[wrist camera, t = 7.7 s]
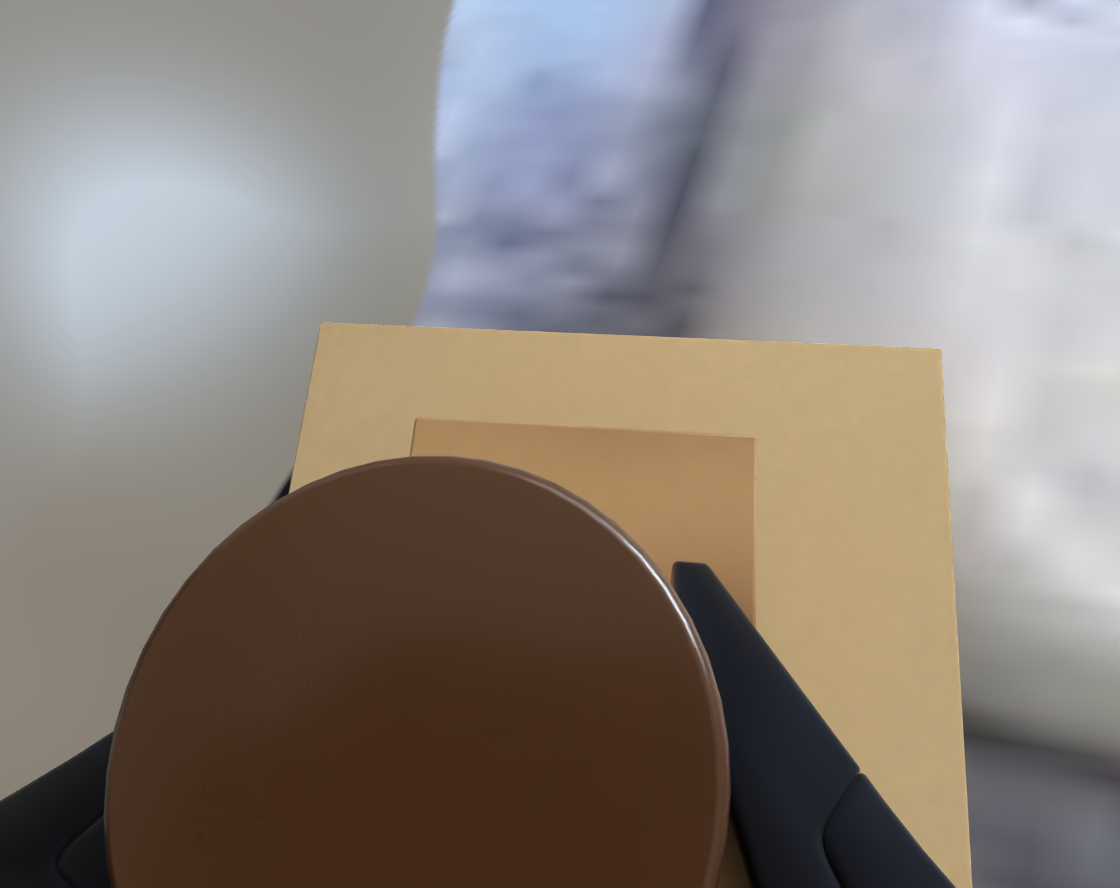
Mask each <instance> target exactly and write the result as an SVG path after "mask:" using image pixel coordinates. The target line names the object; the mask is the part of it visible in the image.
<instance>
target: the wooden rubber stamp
mask: <svg viewBox="0 0 1120 888" xmlns="http://www.w3.org/2000/svg"><path fill="white" fill-rule="evenodd" d="M757 476H758V439H757V437H756V436H754V435H737V434H719V433H701V432H683V431H664V430H646V429H628V428H610V427H592V426H573V425H555V424H537V423H519V422H501V421H482V420H464V419H446V418H428V417H417V418H416V419H415V422H414V429H413V436H412V442H411V449H410V456H408V457H401V458H393V459H386V460H378V461H374V462H371V463H367V464H363V465H359V466H355V467H352V468H348V469H344V470H341V471H339V472H336V473H334V474H331V475H328V476H326V477H323V478H321V479H318V480H316V481H313V482H311V483H308V484H306V485H304V486H302V487H301V488H299V489H297V490H295V491H293V492H291V493H290V494H288V495H286V496H284V497H282V498H280V499H279V500H277V501H275V502H273V503H272V504H270V505H269V506H267V507H266V508H265V509H263V510H262V511H260V512H259V513H258V514H256V515H255V516H253V517H252V518H251V519H249V520H248V521H246V522H245V523H243V524H242V525H241V526H240V527H239V528H237V529H236V530H235V531H234V532H233V533H232V534H231V535H230V536H228V537H227V538H226V539H225V540H224V541H223V542H222V543H221V544H220V545H219V546H217V547H216V548H215V549H214V550H213V551H212V552H211V553H210V554H209V555H208V556H207V558H206V559H205V560H204V561H203V562H202V563H201V564H200V565H199V567H198V568H197V569H196V570H195V571H194V572H193V573H192V574H191V576H190V577H189V578H188V579H187V580H186V581H185V583H184V584H183V585H182V587H181V588H180V590H179V591H178V593H177V594H176V595H175V597H174V598H173V599H172V601H171V602H170V604H169V605H168V607H167V608H166V609H165V611H164V612H163V614H162V615H161V617H160V619H159V621H158V623H157V624H156V626H155V628H154V630H153V632H152V633H151V635H150V637H149V639H148V641H147V643H146V644H145V646H144V648H143V650H142V652H141V655H140V657H139V659H138V662H137V664H136V666H135V669H134V671H133V674H132V676H131V678H130V681H129V683H128V685H127V688H126V691H125V694H124V698H123V701H122V704H121V708H120V711H119V714H118V718H117V721H116V725H115V728H114V733H113V738H112V744H111V749H110V755H109V761H108V766H107V772H106V787H105V802H104V832H105V852H106V863H107V869H108V875H109V881H110V887H111V888H717V886H718V881H719V876H720V871H721V866H722V861H723V857H724V852H725V847H726V842H727V835H728V822H729V810H730V798H731V780H730V757H729V742H728V736H727V730H726V724H725V718H724V712H723V706H722V700H721V697H720V694H719V690H718V687H717V683H716V680H715V677H714V673H713V670H712V667H711V663H710V660H709V657H708V655H707V652H706V650H705V648H704V646H703V643H702V641H701V639H700V636H699V634H698V632H697V630H696V627H695V625H694V623H693V620H692V618H691V617H690V615H689V613H688V612H687V610H686V608H685V607H684V605H683V603H682V602H681V600H680V598H679V597H678V595H677V593H676V592H675V590H674V588H673V587H672V585H671V583H670V581H671V571H672V566H673V564H674V562H676V561H685V562H699V563H706V564H707V565H709V566H710V568H711V569H712V570H713V572H714V573H715V574H716V576H717V577H718V578H719V580H720V581H721V582H722V584H723V585H724V586H725V588H726V589H727V590H728V592H729V593H730V594H731V596H732V597H733V598H734V600H735V601H736V602H737V604H738V605H739V606H740V608H741V609H742V610H743V612H744V613H745V614H746V616H747V617H748V619H749V620H750V621H751V623H752V624H753V625H754V627H755V628H756V572H757Z"/></svg>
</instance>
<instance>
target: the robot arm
mask: <svg viewBox="0 0 1120 888" xmlns="http://www.w3.org/2000/svg"><path fill="white" fill-rule="evenodd" d="M670 583H671V585H672V587H673V588H674V590H675V592H676V593H677V595H678V597H679V598H680V600H681V602H682V603H683V605H684V607H685V608H686V610H687V612H688V613H689V615H690V617H691V618H692V620H693V623H694V625H695V627H696V630H697V632H698V634H699V636H700V639H701V641H702V643H703V646H704V648H705V650H706V652H707V655H708V657H709V660H710V663H711V667H712V670H713V673H714V677H715V680H716V683H717V687H718V690H719V694H720V697H721V700H722V706H723V712H724V718H725V724H726V730H727V736H728V742H729V757H730V780H731V798H730V810H729V822H728V835H727V842H726V847H725V852H724V857H723V861H722V866H721V871H720V876H719V881H718V886H717V888H956V887H955V886H954V884H953V883H952V882H951V881H950V880H949V879H948V878H947V876H946V875H945V874H944V873H943V872H942V871H941V870H940V868H939V867H938V866H937V865H936V864H935V863H934V861H933V860H932V859H931V858H930V857H929V856H928V855H927V853H926V852H925V851H924V850H923V849H922V847H921V846H920V845H919V844H918V842H917V841H916V840H915V839H914V837H913V836H912V835H911V833H910V832H909V831H908V830H907V828H906V827H905V826H904V825H903V823H902V822H901V821H900V820H899V818H898V817H897V816H896V814H895V813H894V812H893V811H892V809H891V808H890V807H889V806H888V804H887V803H886V802H885V800H884V799H883V798H882V796H881V795H880V794H879V792H878V791H877V790H876V788H875V787H874V786H873V784H872V783H871V782H870V780H869V779H868V777H867V776H866V775H865V774H863V773H860V768H859V766H858V765H857V763H856V762H855V761H854V759H853V758H852V756H851V755H850V754H849V752H848V751H847V750H846V748H845V747H844V746H843V744H842V743H841V742H840V740H839V739H838V738H837V736H836V735H835V734H834V732H833V731H832V730H831V728H830V727H829V726H828V724H827V723H826V722H825V720H824V719H823V718H822V716H821V715H820V714H819V712H818V711H817V710H816V708H815V707H814V706H813V704H812V703H811V702H810V700H809V699H808V698H807V696H806V695H805V694H804V692H803V691H802V690H801V688H800V687H799V685H798V684H797V683H796V681H795V680H794V679H793V677H792V676H791V675H790V673H789V672H788V671H787V669H786V668H785V667H784V665H783V664H782V663H781V661H780V660H779V659H778V657H777V656H776V655H775V653H774V652H773V651H772V649H771V648H770V647H769V645H768V644H767V643H766V641H765V640H764V639H763V637H762V636H761V635H760V633H759V632H758V631H757V629H756V628H755V627H754V625H753V624H752V623H751V621H750V620H749V619H748V617H747V616H746V614H745V613H744V612H743V610H742V609H741V608H740V606H739V605H738V604H737V602H736V601H735V600H734V598H733V597H732V596H731V594H730V593H729V592H728V590H727V589H726V588H725V586H724V585H723V584H722V582H721V581H720V580H719V578H718V577H717V576H716V574H715V573H714V572H713V570H712V569H711V568H710V566H709V565H707V564H706V563H699V562H685V561H676V562H674V564H673V566H672V571H671V581H670ZM113 733H114V731H113V732H112V733H110V734H108V735H107V736H105V737H104V738H102V739H101V740H99V741H98V742H96V743H95V744H93V745H92V746H90V747H88V748H87V749H85V750H84V751H82V752H81V753H79V754H78V755H76V756H74V757H73V758H71V759H70V760H68V761H66V762H65V763H63V764H61V765H60V766H58V767H56V768H54V769H53V770H51V771H49V772H48V773H46V774H45V775H43V776H41V777H40V778H38V779H36V780H35V781H33V782H31V783H30V784H28V785H26V786H25V787H23V788H21V789H20V790H18V791H16V792H15V793H13V794H11V795H9V796H8V797H6V798H4V799H3V800H1V801H0V888H111V887H110V881H109V875H108V869H107V863H106V852H105V832H104V802H105V787H106V772H107V766H108V761H109V755H110V749H111V744H112V738H113Z"/></svg>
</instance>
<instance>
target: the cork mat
mask: <svg viewBox="0 0 1120 888" xmlns="http://www.w3.org/2000/svg"><path fill="white" fill-rule="evenodd" d="M417 417H428V418H446V419H464V420H482V421H501V422H519V423H537V424H555V425H573V426H592V427H610V428H628V429H646V430H664V431H683V432H701V433H719V434H737V435H754V436H756V437H757V439H758V476H757V572H756V629H757V631H758V632H759V633H760V635H761V636H762V637H763V639H764V640H765V641H766V643H767V644H768V645H769V647H770V648H771V649H772V651H773V652H774V653H775V655H776V656H777V657H778V659H779V660H780V661H781V663H782V664H783V665H784V667H785V668H786V669H787V671H788V672H789V673H790V675H791V676H792V677H793V679H794V680H795V681H796V683H797V684H798V685H799V687H800V688H801V690H802V691H803V692H804V694H805V695H806V696H807V698H808V699H809V700H810V702H811V703H812V704H813V706H814V707H815V708H816V710H817V711H818V712H819V714H820V715H821V716H822V718H823V719H824V720H825V722H826V723H827V724H828V726H829V727H830V728H831V730H832V731H833V732H834V734H835V735H836V736H837V738H838V739H839V740H840V742H841V743H842V744H843V746H844V747H845V748H846V750H847V751H848V752H849V754H850V755H851V756H852V758H853V759H854V761H855V762H856V763H857V765H858V766H859V768H860V773H863V774H865V775H866V776H867V777H868V779H869V780H870V782H871V783H872V784H873V786H874V787H875V788H876V790H877V791H878V792H879V794H880V795H881V796H882V798H883V799H884V800H885V802H886V803H887V804H888V806H889V807H890V808H891V809H892V811H893V812H894V813H895V814H896V816H897V817H898V818H899V820H900V821H901V822H902V823H903V825H904V826H905V827H906V828H907V830H908V831H909V832H910V833H911V835H912V836H913V837H914V839H915V840H916V841H917V842H918V844H919V845H920V846H921V847H922V849H923V850H924V851H925V852H926V853H927V855H928V856H929V857H930V858H931V859H932V860H933V861H934V863H935V864H936V865H937V866H938V867H939V868H940V870H941V871H942V872H943V873H944V874H945V875H946V876H947V878H948V879H949V880H950V881H951V882H952V883H953V884H954V886H955V887H956V888H972V875H971V858H970V840H969V823H968V806H967V789H966V771H965V754H964V737H963V720H962V702H961V685H960V668H959V651H958V633H957V616H956V599H955V582H954V564H953V547H952V530H951V513H950V495H949V478H948V461H947V444H946V426H945V409H944V392H943V375H942V357H941V349H933V348H909V347H886V346H862V345H839V344H815V343H792V342H769V341H745V340H722V339H698V338H675V337H651V336H628V335H604V334H581V333H558V332H534V331H511V330H487V329H464V328H440V327H417V326H393V325H369V324H346V323H323V322H322V323H321V325H320V330H319V335H318V341H317V346H316V351H315V356H314V362H313V367H312V373H311V378H310V383H309V388H308V394H307V399H306V404H305V410H304V415H303V420H302V425H301V431H300V436H299V442H298V447H297V452H296V457H295V463H294V468H293V473H292V479H291V484H290V489H289V494H290V493H291V492H293V491H295V490H297V489H299V488H301V487H302V486H304V485H306V484H308V483H311V482H313V481H316V480H318V479H321V478H323V477H326V476H328V475H331V474H334V473H336V472H339V471H341V470H344V469H348V468H352V467H355V466H359V465H363V464H367V463H371V462H374V461H378V460H386V459H393V458H401V457H408V456H410V449H411V442H412V436H413V429H414V422H415V419H416V418H417Z"/></svg>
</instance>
